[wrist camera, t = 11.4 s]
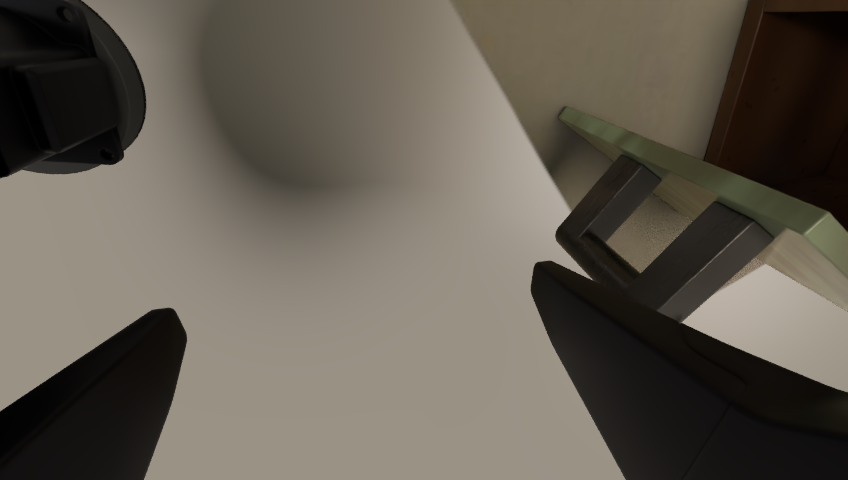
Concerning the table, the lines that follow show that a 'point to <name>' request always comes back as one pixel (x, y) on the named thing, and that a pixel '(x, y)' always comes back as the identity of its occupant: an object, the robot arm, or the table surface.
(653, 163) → the door
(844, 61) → the cupboard
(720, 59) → the table surface
